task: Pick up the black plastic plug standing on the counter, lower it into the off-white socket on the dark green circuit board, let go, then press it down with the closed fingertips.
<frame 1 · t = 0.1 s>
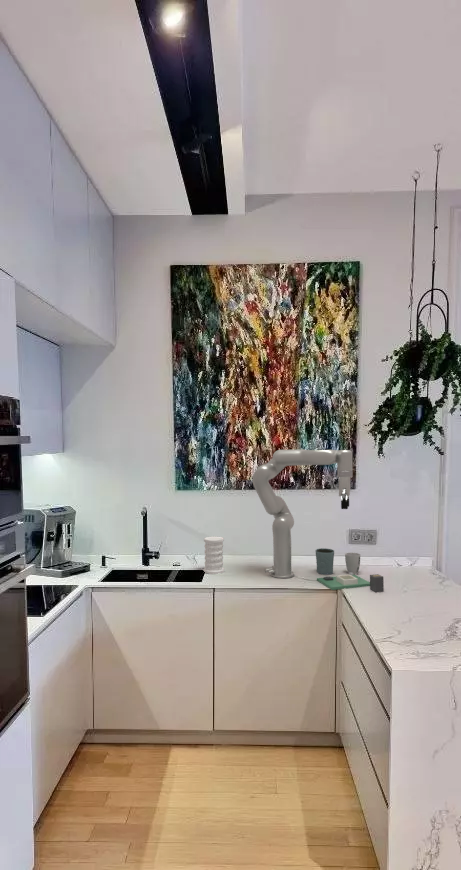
hand: (345, 507, 243), 37 cm above the countertop, tool pointing down, fingers open, 9 cm apart
board: (343, 583, 239), on the countertop
decorative container: (213, 571, 261), on the countertop
dark grey open cylinder: (325, 572, 258), on the countertop
plug: (376, 590, 227), on the countertop
cup: (352, 573, 257), on the countertop
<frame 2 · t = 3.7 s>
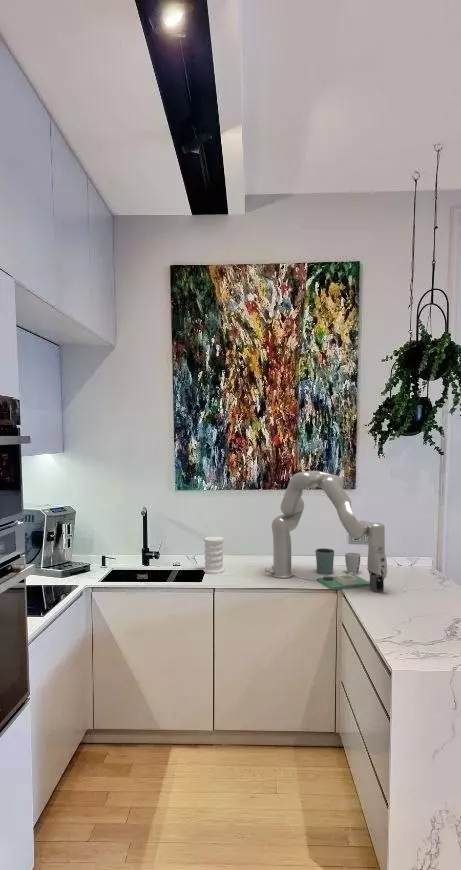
hand: (376, 587, 227), 2 cm above the countertop, tool pointing down, fingers closed on plug, 4 cm apart
plug: (376, 590, 227), on the countertop, touching gripper
everything else where it was.
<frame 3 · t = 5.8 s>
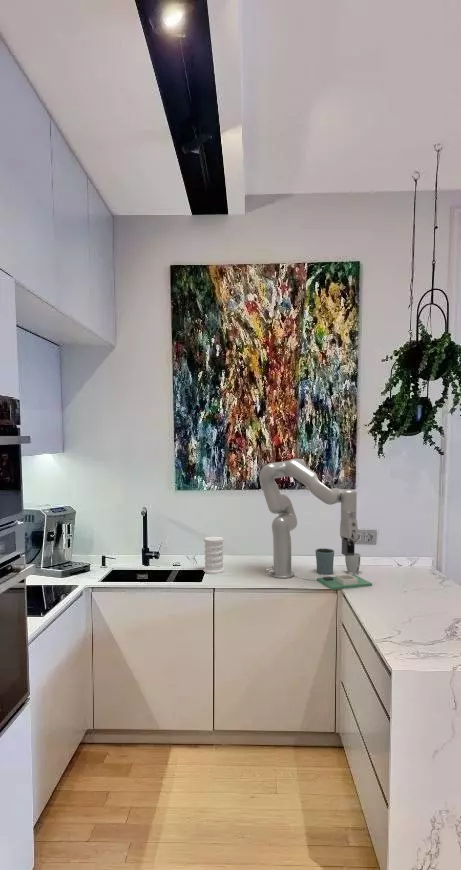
hand: (347, 551, 235), 17 cm above the countertop, tool pointing down, fingers closed on plug, 4 cm apart
plug: (347, 554, 235), point 15 cm above the countertop, touching gripper
everything else where it was.
when the fingers open (5 cm above the countertop, at t = 8.0 s): plug drops 1 cm, resting on board.
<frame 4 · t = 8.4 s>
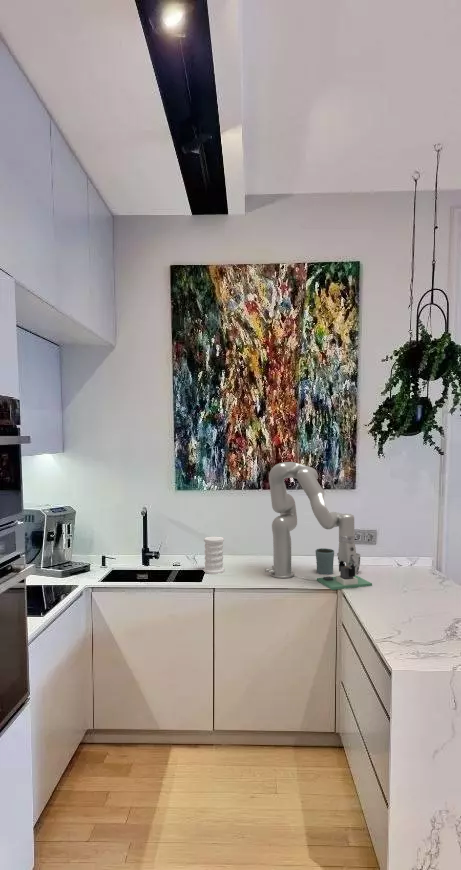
hand: (346, 573, 236), 5 cm above the countertop, tool pointing down, fingers open, 9 cm apart
plug: (346, 581, 236), point 2 cm above the countertop, touching board
everything else where it was.
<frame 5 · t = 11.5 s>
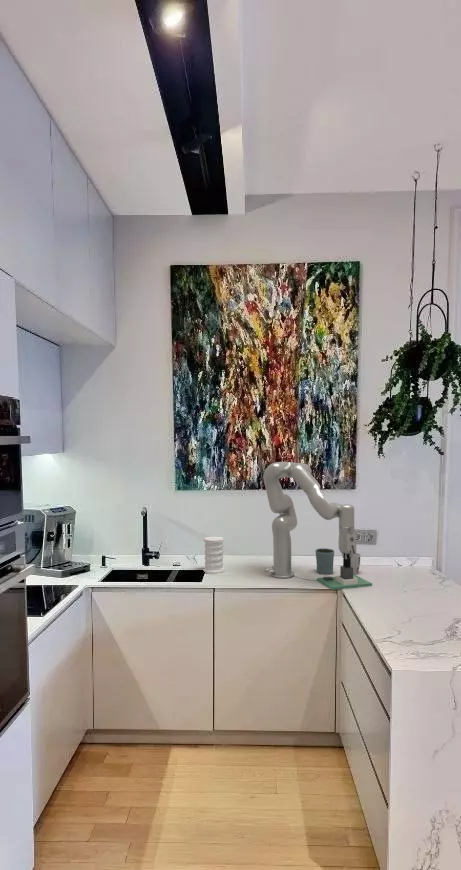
hand: (346, 566, 236), 9 cm above the countertop, tool pointing down, fingers closed
plug: (346, 581, 236), point 2 cm above the countertop, touching board, gripper
everything else where it was.
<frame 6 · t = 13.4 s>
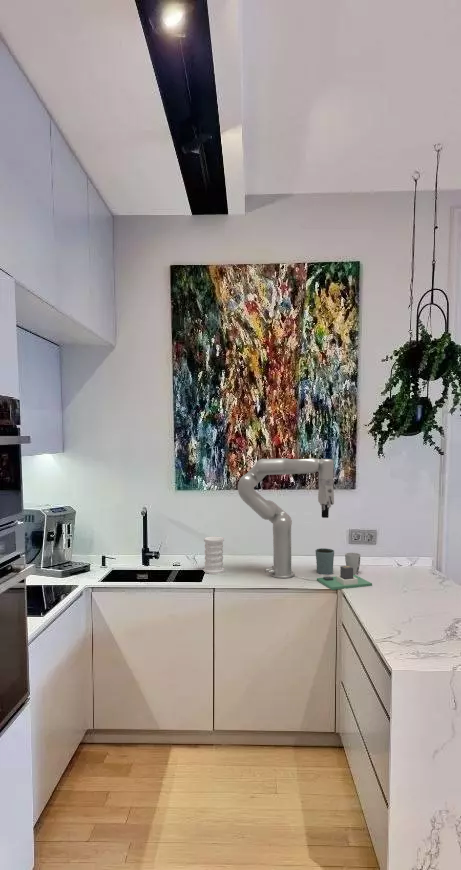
hand: (325, 517, 249), 31 cm above the countertop, tool pointing down, fingers closed
plug: (346, 581, 236), point 2 cm above the countertop, touching board
everything else where it was.
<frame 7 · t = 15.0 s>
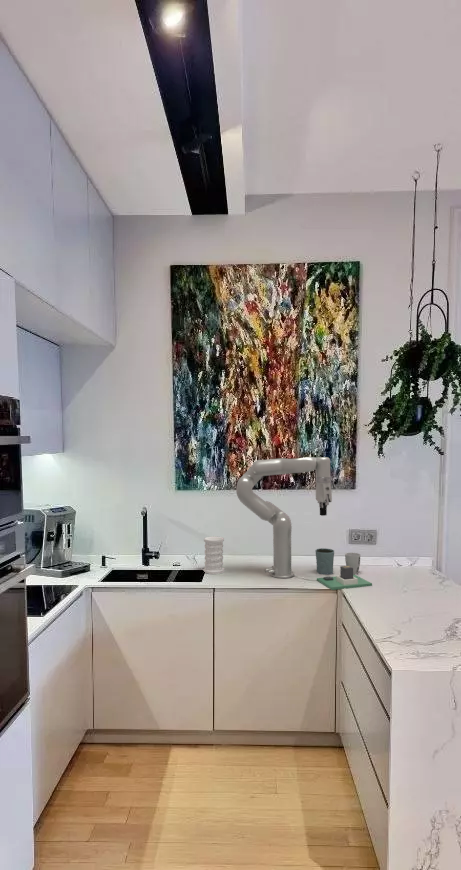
hand: (323, 515, 251), 32 cm above the countertop, tool pointing down, fingers closed
nothing on the countertop moved.
at the end: plug 0.1 cm from the target spot on the board, point 1.8 cm above the board's base; plug tilted 0°; the gripper is holding nothing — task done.
